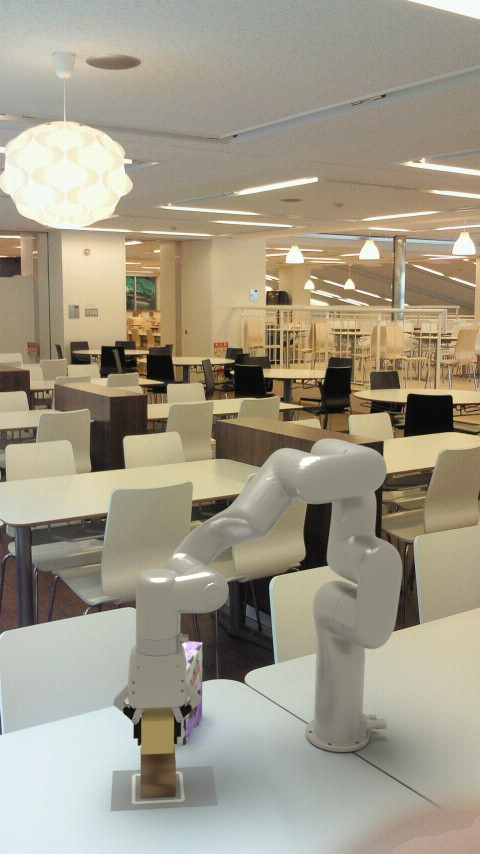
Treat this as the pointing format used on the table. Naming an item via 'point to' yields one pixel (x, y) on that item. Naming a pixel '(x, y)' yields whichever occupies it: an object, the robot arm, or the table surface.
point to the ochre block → (157, 731)
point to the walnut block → (158, 775)
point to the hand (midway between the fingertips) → (157, 739)
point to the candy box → (195, 681)
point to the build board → (190, 792)
